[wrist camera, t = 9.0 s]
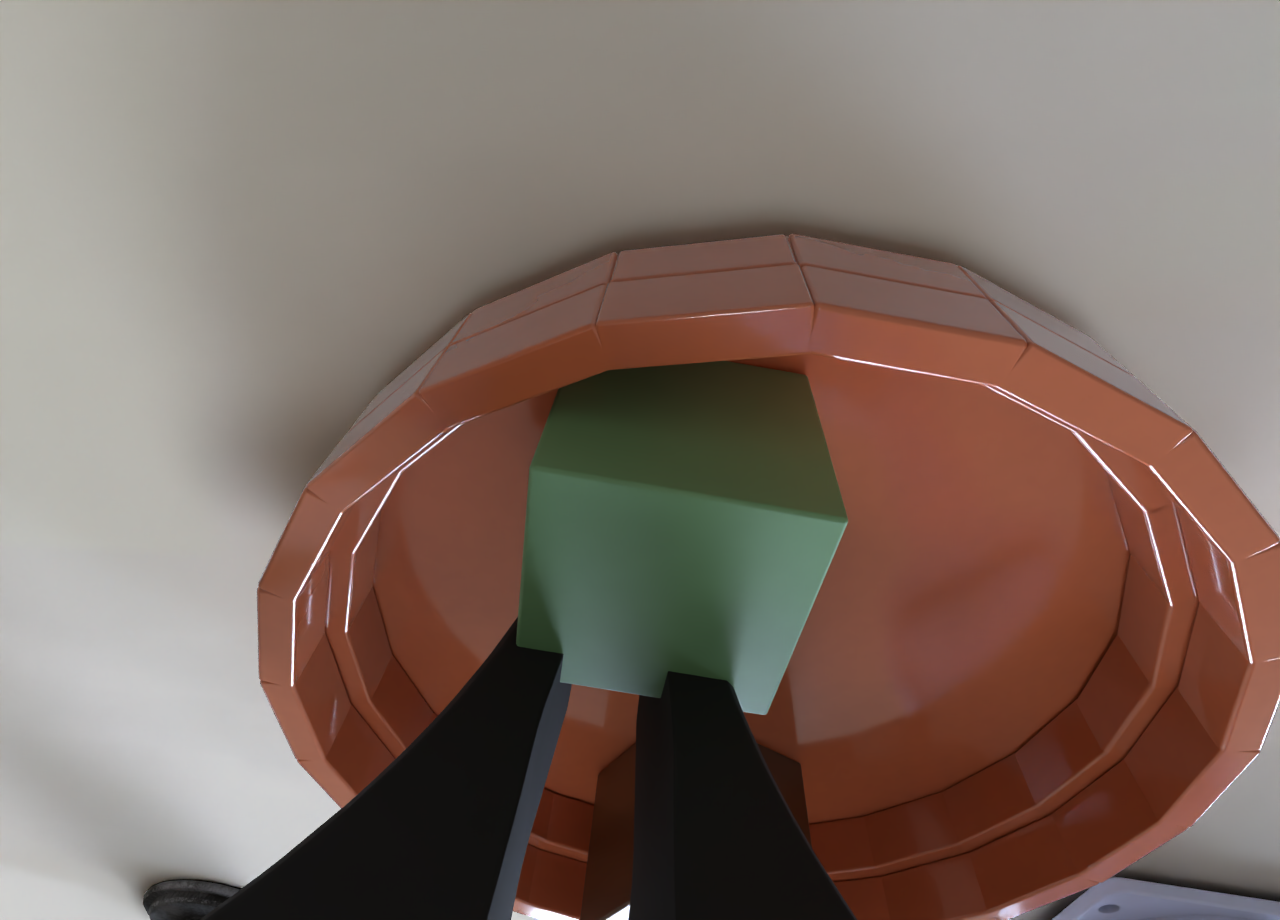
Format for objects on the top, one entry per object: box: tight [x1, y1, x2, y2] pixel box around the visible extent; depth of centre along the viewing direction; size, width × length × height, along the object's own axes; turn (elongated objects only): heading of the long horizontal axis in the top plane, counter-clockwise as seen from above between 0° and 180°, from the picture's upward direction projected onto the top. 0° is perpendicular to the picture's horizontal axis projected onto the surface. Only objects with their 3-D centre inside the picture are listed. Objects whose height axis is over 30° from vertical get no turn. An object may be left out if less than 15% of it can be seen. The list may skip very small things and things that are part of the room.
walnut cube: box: [580, 743, 812, 920], centre depth 15 cm, size 4×4×4 cm
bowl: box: [257, 234, 1280, 920], centre depth 13 cm, size 16×16×3 cm
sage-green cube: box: [516, 361, 848, 715], centre depth 10 cm, size 4×4×4 cm
